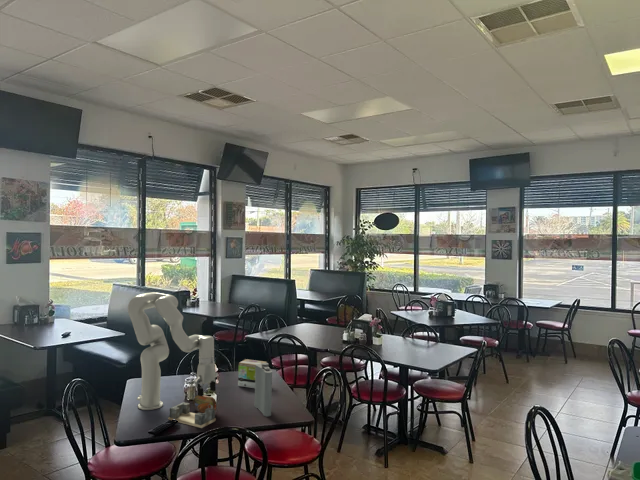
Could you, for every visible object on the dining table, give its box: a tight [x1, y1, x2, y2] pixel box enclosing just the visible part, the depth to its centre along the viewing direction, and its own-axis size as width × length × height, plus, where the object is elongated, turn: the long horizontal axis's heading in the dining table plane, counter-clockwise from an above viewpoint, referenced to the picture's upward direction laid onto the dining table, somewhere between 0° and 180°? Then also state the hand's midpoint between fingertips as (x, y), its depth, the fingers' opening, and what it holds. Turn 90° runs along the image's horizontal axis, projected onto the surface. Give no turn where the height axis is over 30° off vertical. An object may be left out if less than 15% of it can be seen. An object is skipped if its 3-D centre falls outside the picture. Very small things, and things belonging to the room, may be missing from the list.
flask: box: [254, 362, 273, 417], centre depth 250 cm, size 17×5×25 cm, turn 27°
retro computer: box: [237, 358, 268, 389], centre depth 291 cm, size 15×10×15 cm, turn 73°
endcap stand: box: [167, 401, 217, 429], centre depth 234 cm, size 10×21×6 cm, turn 64°
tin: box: [192, 394, 217, 414], centre depth 245 cm, size 15×3×8 cm, turn 56°
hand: (206, 393), depth 245 cm, fingers open, 9 cm apart
